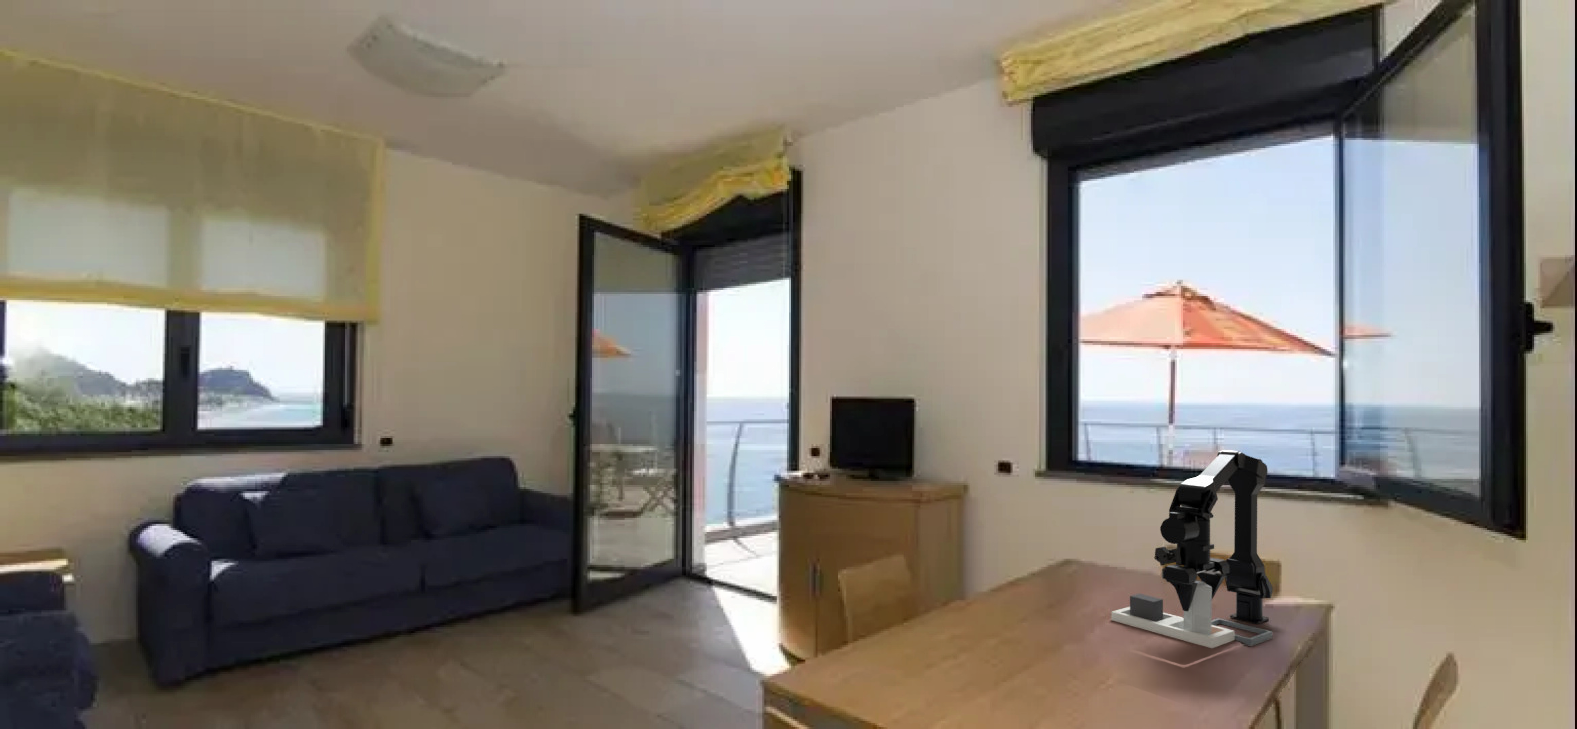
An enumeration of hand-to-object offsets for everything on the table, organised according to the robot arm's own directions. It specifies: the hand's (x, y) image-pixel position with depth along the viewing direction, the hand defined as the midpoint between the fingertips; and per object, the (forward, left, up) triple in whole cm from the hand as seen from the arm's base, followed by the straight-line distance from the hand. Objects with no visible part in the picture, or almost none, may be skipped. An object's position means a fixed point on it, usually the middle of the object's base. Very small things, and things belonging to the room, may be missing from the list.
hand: (1196, 607), depth 177 cm
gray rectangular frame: (-10, +3, -7) cm, 13 cm away
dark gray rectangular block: (0, -12, -6) cm, 14 cm away
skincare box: (0, 0, -7) cm, 7 cm away
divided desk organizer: (0, -6, -7) cm, 9 cm away
